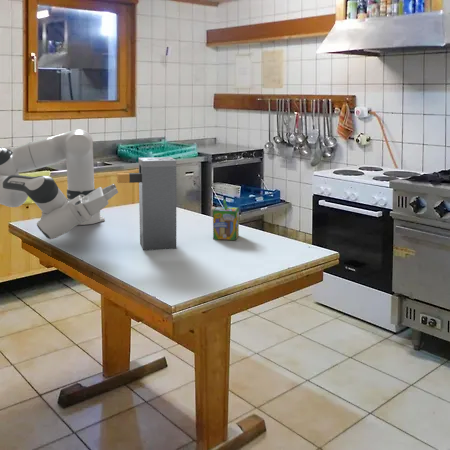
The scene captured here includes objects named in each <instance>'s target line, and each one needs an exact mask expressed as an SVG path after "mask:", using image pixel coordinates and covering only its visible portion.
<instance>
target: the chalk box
mask: <svg viewBox="0 0 450 450" xmlns="http://www.w3.org/2000/svg"><path fill="white" fill-rule="evenodd" d="M222 202H223V203H222V204H223V206H216V207H214V209H213V210H212V226H213V228H212V230H213V231H212V232H213V233H212V234H213V235H212V236H213V237H212V238H213V240H217V241H219V240H221V241H222V240H224V241H226V240H228V241H237V239H238V237H239V230H240V229H239V228H240V227H239V226H240V225H239V224H240V223H239V222H240V221H239V220H240V208H239V207H236V206H234V207H233V206H228V205H227V200H226V199H224V200H223V201H222Z"/></svg>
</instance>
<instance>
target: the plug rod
mask: <svg viewBox="0 0 450 450" xmlns="http://www.w3.org/2000/svg"><path fill="white" fill-rule="evenodd" d="M116 177H117V179H116V180H117V184H123V183H124V184H132V183H138V184H139V183H140V182H141V173H139V172H120V173H119V172H117V173H116Z"/></svg>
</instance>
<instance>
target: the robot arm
mask: <svg viewBox="0 0 450 450" xmlns="http://www.w3.org/2000/svg"><path fill="white" fill-rule="evenodd" d="M93 146H94V141H93V137H92V135H91V134H90V132H88V131H86V130H84V129H79V128H78V129H74V130H70V131H67V132H66V131H65V132H63V133H60V134H56V135H52V136H50V137H45V138H43V139H39V140H36V141H35V140H34V141H31V142H27V143H25V144H21V145H19V146H16V147H14V148H12V149H7V148H5V147H1V146H0V205H1V206H2V205H3V206H5V207H8V208H19V207H21V206H23V204H25V202H27V200H28V197H29V199H30V200H31V201H33V203H34V204H36V206H37V207H38V208H39V210H41V217H40V219H39V220H38V222H37V223H36V226H37V228H38V230H39V231H40V232H41V233H42V234H43V235H44V236H45V237H46V239H48V240H54V239H57V238H59V237H61V236H63V235H65V234H66V233H68V232H70V231H71V230H73V229H74V227H76V226H81V225H83V226H84V225H85V226H86V225H93V224H97V223H100V222H105V221H106V219H105V217H103V216H102V215H101V210H103V209H105V208H106V207H107V206H108V205H109V200H110V199H112V198H113V197H114V196H115V195H117V194H118V193H119V191H118V189H117V186H116V184H115V183H112V184H110V185H107V186H106V187H105V186H104V187H102V186H98V187H97V188H95V169H94V167H95V165H94V147H93ZM63 162H65V164H66V174H67V175H66V180H67V189H66V195H65V194H64V193H63V192H62V190H61V189H60V188H59V186H58V185H57V183H56V181H55V179H54V178H53V177H51V176H49V175H38V176H30V175H22V174H20V173H24V172H29V171H34V170H39V169H42V168H46V167H48V166H49V167H50V166H54V165H57V164H60V163H63Z"/></svg>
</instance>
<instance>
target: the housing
mask: <svg viewBox="0 0 450 450" xmlns="http://www.w3.org/2000/svg"><path fill="white" fill-rule="evenodd" d="M138 173H141V182H140V183H138V201H139V202H138V203H139V206H138V207H139V244H140V247H141V249H142V251H163V250H177V160H176V159H175V158H173V157H171V156H168V157H167V156H165V157H138Z"/></svg>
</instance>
